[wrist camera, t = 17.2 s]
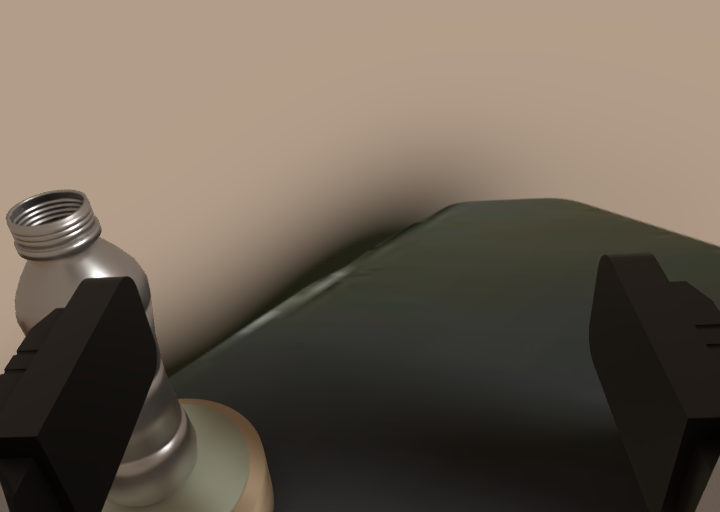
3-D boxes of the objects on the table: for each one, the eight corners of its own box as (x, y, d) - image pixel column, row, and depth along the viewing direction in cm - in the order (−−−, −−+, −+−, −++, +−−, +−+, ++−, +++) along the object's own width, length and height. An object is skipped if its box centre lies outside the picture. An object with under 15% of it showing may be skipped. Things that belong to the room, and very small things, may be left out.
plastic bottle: (102, 450, 45) (-15, 189, 34) (203, 427, 46) (123, 166, 35) (94, 534, 40) (-48, 258, 28) (208, 505, 41) (115, 228, 30)
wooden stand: (193, 407, 54) (180, 366, 51) (316, 501, 46) (308, 458, 43) (27, 530, 46) (1, 489, 43) (141, 672, 37) (118, 631, 35)
